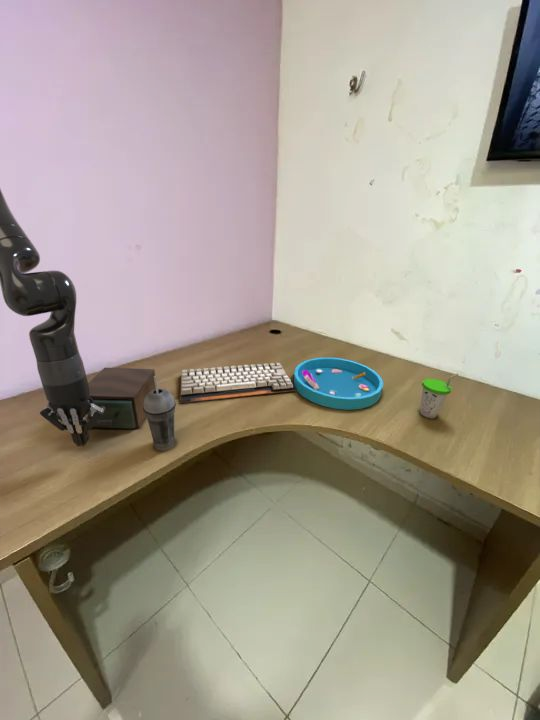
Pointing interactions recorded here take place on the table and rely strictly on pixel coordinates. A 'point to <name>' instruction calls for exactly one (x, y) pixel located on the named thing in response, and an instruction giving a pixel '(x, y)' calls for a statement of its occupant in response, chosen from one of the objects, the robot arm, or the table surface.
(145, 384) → the cabinet
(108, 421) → the drawer
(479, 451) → the table surface
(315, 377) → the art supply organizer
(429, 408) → the cup
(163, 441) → the beverage cup
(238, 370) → the mechanical keyboard
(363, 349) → the table surface
